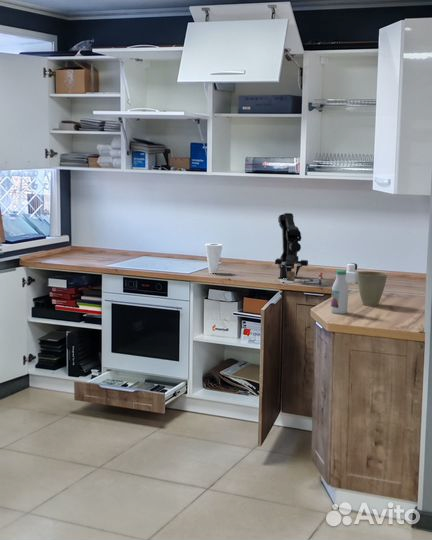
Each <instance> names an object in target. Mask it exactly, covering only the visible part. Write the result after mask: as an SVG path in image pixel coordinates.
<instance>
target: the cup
mask: <svg viewBox="0 0 432 540" xmlns="http://www.w3.org/2000/svg"><path fill="white" fill-rule="evenodd" d="M204 246H205V253H206V260H207V269H208V274H209V273H217V274H218V269H219V263H220V259H221V254H222V249H223V244H222V243H205V244H204Z"/></svg>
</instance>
